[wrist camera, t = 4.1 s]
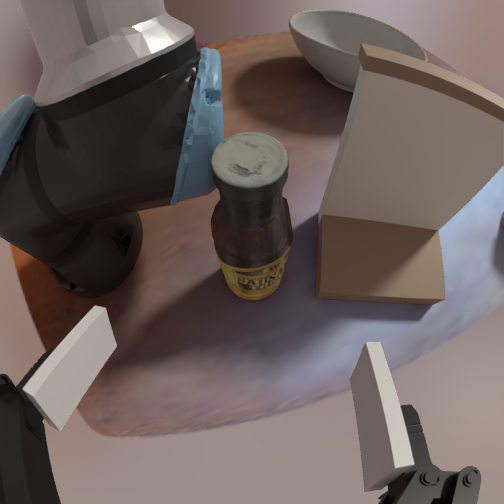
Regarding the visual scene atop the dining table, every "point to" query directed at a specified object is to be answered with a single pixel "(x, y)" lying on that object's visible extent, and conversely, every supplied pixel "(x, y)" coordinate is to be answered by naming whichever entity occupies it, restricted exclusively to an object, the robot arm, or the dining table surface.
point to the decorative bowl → (344, 42)
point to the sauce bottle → (251, 213)
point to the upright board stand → (403, 178)
